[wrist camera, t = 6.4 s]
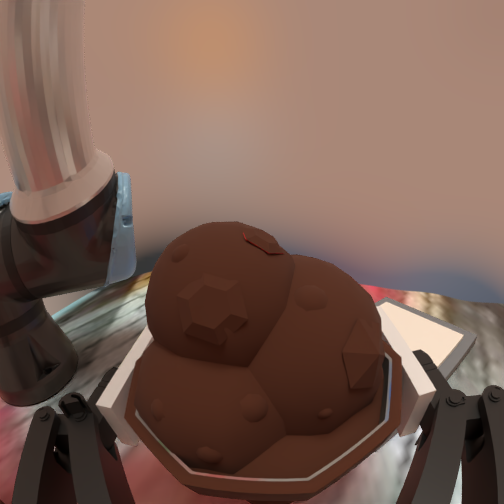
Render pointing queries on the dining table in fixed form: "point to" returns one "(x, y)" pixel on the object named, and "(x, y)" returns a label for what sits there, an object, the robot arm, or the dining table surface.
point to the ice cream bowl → (260, 368)
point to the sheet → (423, 333)
